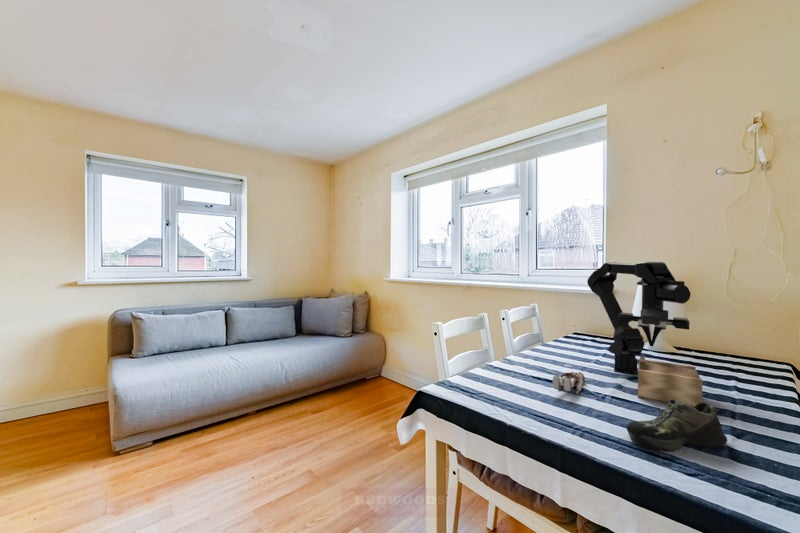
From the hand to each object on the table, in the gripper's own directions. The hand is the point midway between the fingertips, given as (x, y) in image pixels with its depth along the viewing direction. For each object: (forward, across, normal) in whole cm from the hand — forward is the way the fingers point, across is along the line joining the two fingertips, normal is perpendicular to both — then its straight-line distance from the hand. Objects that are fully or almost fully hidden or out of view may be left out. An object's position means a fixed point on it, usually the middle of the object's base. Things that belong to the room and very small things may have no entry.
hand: (651, 346), depth 110 cm
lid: (+5, +4, -12) cm, 13 cm away
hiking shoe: (+12, +6, -43) cm, 45 cm away
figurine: (+12, -18, -25) cm, 33 cm away
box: (+12, +4, -12) cm, 17 cm away
